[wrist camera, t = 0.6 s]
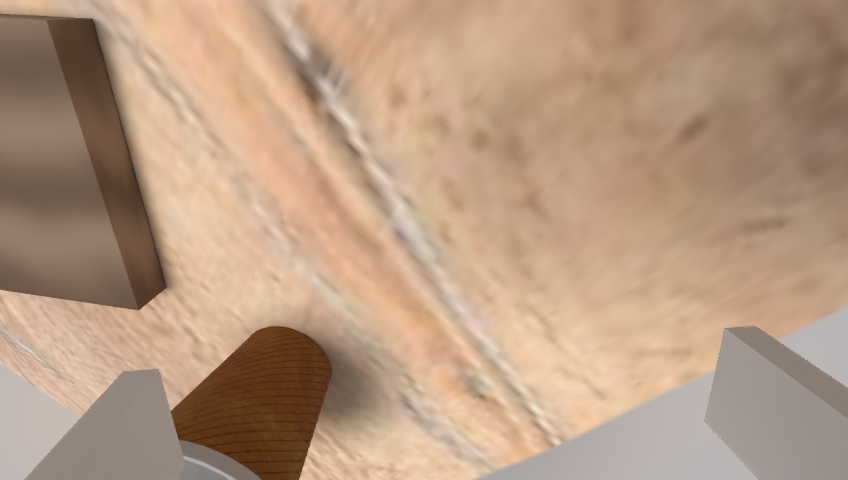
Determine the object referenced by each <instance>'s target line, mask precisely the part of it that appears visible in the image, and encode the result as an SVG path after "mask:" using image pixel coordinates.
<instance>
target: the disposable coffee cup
mask: <svg viewBox="0 0 848 480" xmlns="http://www.w3.org/2000/svg"><path fill="white" fill-rule="evenodd" d="M330 379H331V366H330V363H329V360H328V358H327V356H326V354H325V353H324V352H323V350H322V349H321V348H320V347H319V346H318V345H317V344H316V343H315V342H314V341H312V340H311V339H310V338H308V337H307V336H305V335H303V334H301V333H299V332H297V331H294V330H291V329H288V328H282V327H269V328H265V329H261V330H259V331H256V332H255V333H254V334H252V335H251V336H250V337H249V338H248V339H247V340H246V341H245V342H244V343H243V344H242V345H241V346H240V347H239V348H238V349H237V350H236V351H235V352H233V353H232V354H231V355H230V356H229V357H228V358H227V359H226V360H225V361H224V362H223V363H222V364H221V365H220V366H219V367H218V368H216V369H215V370H214V371H213V372H212V373H211V374H210V375H209V376H208V377H207V378H206V379H205V380H204V381H203V382H202V383H200V384H199V385H198V386H197V387H196V388H195V389H194V390H193V391H192V392H191V393H190V394H189V395H188V396H187V397H186V398H184V399H183V400H182V401H181V402H180V403H179V404H178V405H177V406H176V407H175V408H174V409H173V410H172V411H171V415H172V418H173V422H174V425H175V429H176V433H177V436H178V440H179V443H180V447H181V451H182V454H183V458H184V461H185V466H184V468H183V470H182V472H181V474H180V476H179V478H178V480H299V478H300V475H301V472H302V468H303V465H304V462H305V459H306V456H307V452H308V448H309V446H310V443H311V439H312V437H313V433H314V430H315V427H316V423H317V421H318V417H319V413H320V411H321V407H322V404H323V401H324V397H325V395H326V391H327V388H328V384H329V382H330Z"/></svg>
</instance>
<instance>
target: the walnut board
mask: <svg viewBox="0 0 848 480" xmlns="http://www.w3.org/2000/svg"><path fill="white" fill-rule="evenodd" d="M165 288H166V286H165V282H164V279H163V275H162V271H161V268H160V264H159V260H158V257H157V253H156V249H155V246H154V242H153V239H152V235H151V231H150V228H149V224H148V220H147V217H146V213H145V210H144V206H143V202H142V199H141V195H140V191H139V188H138V184H137V181H136V177H135V173H134V170H133V166H132V162H131V159H130V155H129V152H128V148H127V144H126V141H125V137H124V133H123V130H122V126H121V123H120V119H119V115H118V112H117V108H116V104H115V101H114V97H113V94H112V90H111V86H110V83H109V79H108V75H107V72H106V68H105V65H104V61H103V57H102V54H101V50H100V46H99V43H98V39H97V35H96V32H95V28H94V25H93V21H92V19H85V18H66V17H48V16H29V15H11V14H0V290H5V291H12V292H19V293H25V294H32V295H39V296H46V297H53V298H59V299H66V300H73V301H80V302H86V303H93V304H100V305H107V306H113V307H120V308H127V309H134V310H140V309H141V308H142V307H143V306H145V305H146V304H147V303H148V302H149V301H151V300H152V299H153V298H154V297H156V296H157V295H158V294H159V293H160V292H162V291H163V290H164V289H165Z"/></svg>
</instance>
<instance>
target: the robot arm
mask: <svg viewBox="0 0 848 480" xmlns="http://www.w3.org/2000/svg"><path fill="white" fill-rule="evenodd" d="M705 422H706V423H707V424H708V425H709V426H710V427H711V429H712V430H713V431H714V432H715V433H716V434H717V435H718V436H719V437H720V438H721V439H722V440H723V442H724V443H725V444H726V445H727V446H728V447H729V448H730V449H731V450H732V451H733V452H734V453H735V455H737V457H738V458H739V459H740V460H741V461H742V462H743V463H744V464H745V465H746V466H747V467H748V469H749V470H750V471H751V472H752V473H753V474H754V475H755V476H756V477H757V478H758V479H759V480H848V388H847V387H846V386H844V385H843V384H841V383H840V382H838V381H837V380H835V379H834V378H832V377H831V376H829V375H828V374H826V373H825V372H823V371H822V370H820V369H819V368H817V367H816V366H814V365H813V364H811V363H810V362H808V361H807V360H805V359H804V358H802V357H801V356H799V355H798V354H796V353H795V352H793V351H792V350H790V349H789V348H787V347H786V346H784V345H783V344H781V343H780V342H778V341H777V340H776V339H774V338H773V337H771V336H770V335H768V334H767V333H765V332H764V331H762V330H761V329H759V328H758V327H756V326H748V327H734V328H725V329H724V334H723V339H722V343H721V348H720V352H719V357H718V361H717V366H716V371H715V375H714V380H713V384H712V389H711V394H710V398H709V403H708V407H707V412H706V416H705ZM184 466H185V461H184V458H183V454H182V451H181V447H180V443H179V440H178V436H177V433H176V429H175V425H174V422H173V418H172V415H171V411H170V407H169V404H168V400H167V397H166V393H165V390H164V386H163V382H162V379H161V375H160V372H159V369H152V370H138V371H124V372H122V373H121V374H120V375H119V377H118V378H117V379H116V380H115V381H114V382H113V383H112V384H111V385H110V386H109V388H108V389H107V390H106V391H105V392H104V393H103V394H102V395H101V396H100V397H99V398H98V400H97V401H96V402H95V403H94V404H93V405H92V406H91V407H90V408H89V409H88V411H87V412H86V413H85V414H84V415H83V416H82V417H81V418H80V419H79V420H78V422H77V423H76V424H75V425H74V426H73V427H72V428H71V429H70V430H69V431H68V432H67V434H66V435H65V436H64V437H63V438H62V439H61V440H60V441H59V442H58V443H57V444H56V446H55V447H54V448H53V449H52V450H51V451H50V452H49V453H48V454H47V455H46V457H45V458H44V459H43V460H42V461H41V462H40V463H39V464H38V465H37V467H35V469H34V470H33V471H32V472H31V473H30V474H29V475H28V476H27V477H26V479H24V480H178V478H179V476H180V474H181V472H182V470H183V468H184Z"/></svg>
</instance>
